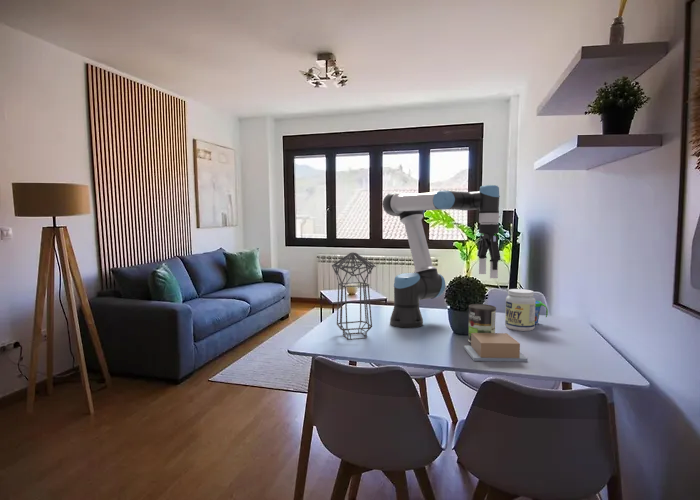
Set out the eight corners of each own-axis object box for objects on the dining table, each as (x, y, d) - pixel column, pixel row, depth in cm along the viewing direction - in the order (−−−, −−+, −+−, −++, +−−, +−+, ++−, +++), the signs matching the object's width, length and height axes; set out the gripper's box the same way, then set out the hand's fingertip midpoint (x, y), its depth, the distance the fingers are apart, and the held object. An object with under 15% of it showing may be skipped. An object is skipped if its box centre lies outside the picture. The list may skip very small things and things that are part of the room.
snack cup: (508, 322, 190) (509, 301, 190) (514, 318, 199) (514, 298, 198) (545, 327, 181) (545, 305, 181) (549, 322, 190) (549, 301, 189)
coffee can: (480, 346, 153) (481, 310, 152) (462, 339, 162) (463, 305, 161) (501, 343, 157) (501, 307, 156) (482, 336, 167) (482, 303, 166)
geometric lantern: (340, 343, 158) (338, 253, 156) (332, 333, 173) (330, 252, 172) (378, 339, 161) (377, 252, 160) (367, 330, 177) (366, 251, 175)
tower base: (473, 360, 137) (474, 343, 137) (463, 348, 151) (464, 332, 151) (527, 361, 136) (528, 344, 136) (512, 348, 150) (513, 332, 150)
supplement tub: (499, 327, 182) (500, 290, 181) (514, 323, 189) (515, 287, 188) (525, 333, 172) (526, 293, 171) (540, 328, 179) (541, 291, 178)
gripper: (510, 223, 151) (509, 280, 152) (487, 223, 176) (486, 272, 177) (490, 223, 151) (489, 280, 152) (470, 224, 176) (469, 272, 177)
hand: (487, 276), depth 165 cm, fingers open, 13 cm apart
